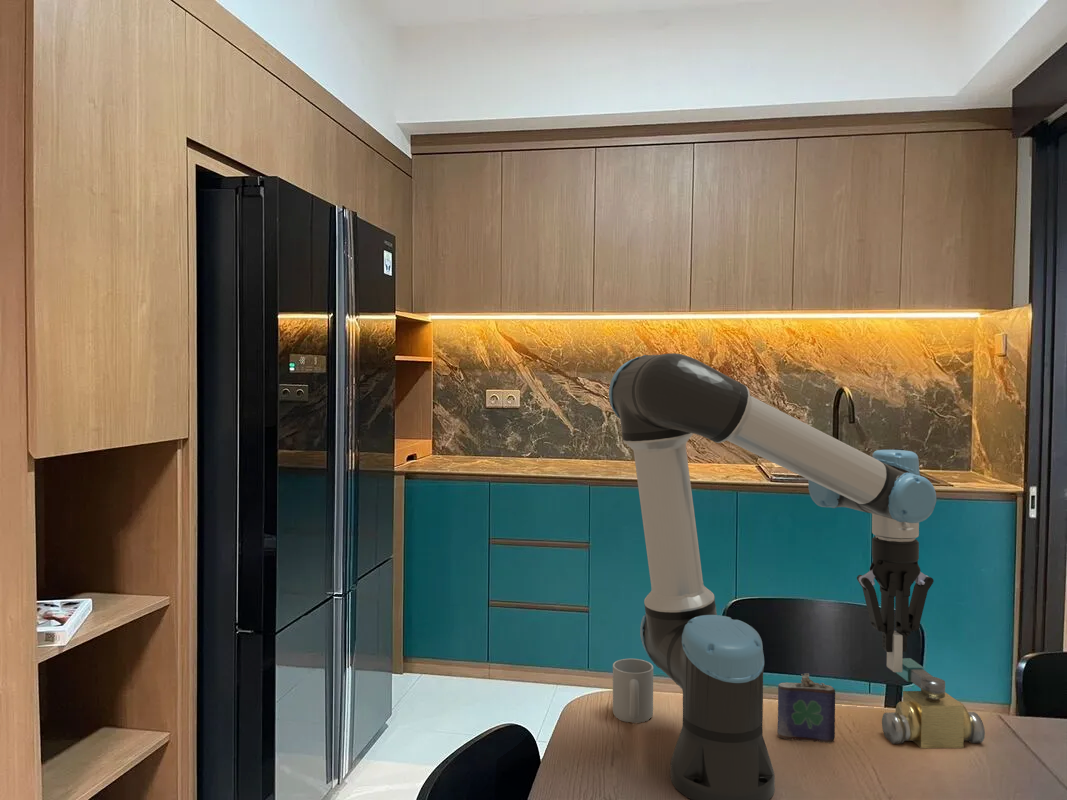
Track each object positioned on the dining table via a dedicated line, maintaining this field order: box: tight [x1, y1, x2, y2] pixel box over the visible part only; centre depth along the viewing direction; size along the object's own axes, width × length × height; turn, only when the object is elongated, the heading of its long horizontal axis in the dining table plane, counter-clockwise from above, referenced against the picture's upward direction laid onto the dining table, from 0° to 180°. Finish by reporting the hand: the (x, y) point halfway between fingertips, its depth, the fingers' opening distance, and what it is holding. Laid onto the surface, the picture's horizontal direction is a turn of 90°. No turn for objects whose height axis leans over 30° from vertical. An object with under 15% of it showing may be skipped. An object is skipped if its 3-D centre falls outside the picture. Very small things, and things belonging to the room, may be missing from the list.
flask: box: [777, 672, 836, 744], centre depth 128 cm, size 9×3×11 cm, turn 79°
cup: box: [612, 658, 654, 724], centre depth 136 cm, size 7×10×9 cm
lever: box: [895, 657, 946, 698], centre depth 131 cm, size 12×4×2 cm, turn 1°
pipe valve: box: [881, 690, 986, 749], centre depth 127 cm, size 15×6×8 cm, turn 91°
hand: (894, 669), depth 135 cm, fingers closed
